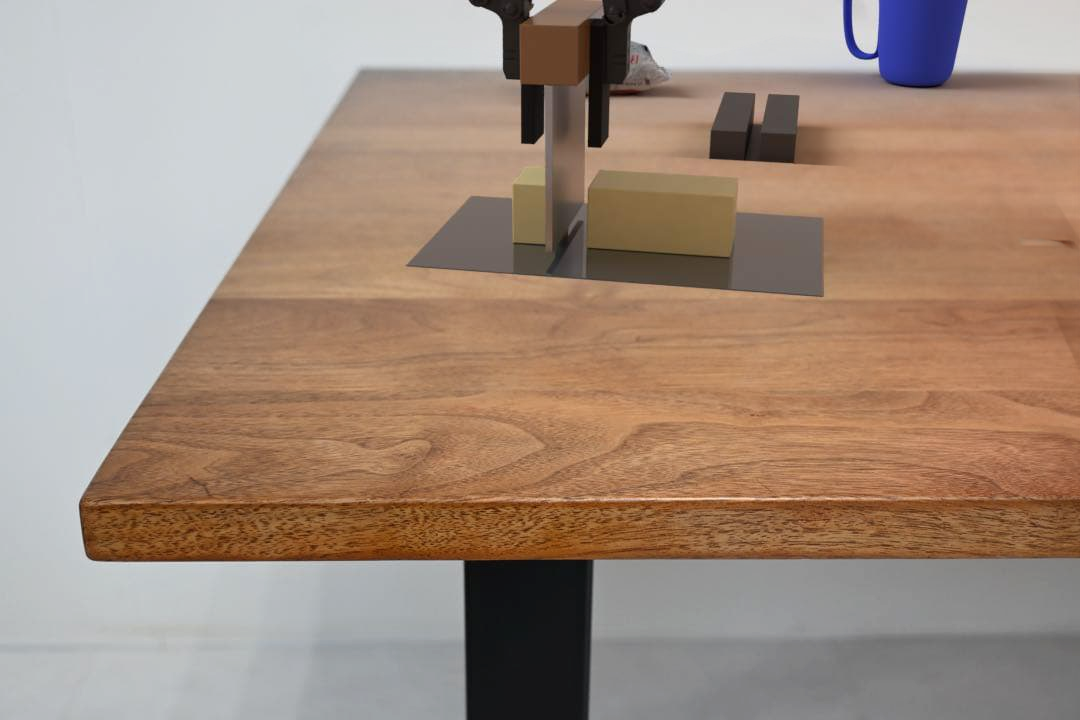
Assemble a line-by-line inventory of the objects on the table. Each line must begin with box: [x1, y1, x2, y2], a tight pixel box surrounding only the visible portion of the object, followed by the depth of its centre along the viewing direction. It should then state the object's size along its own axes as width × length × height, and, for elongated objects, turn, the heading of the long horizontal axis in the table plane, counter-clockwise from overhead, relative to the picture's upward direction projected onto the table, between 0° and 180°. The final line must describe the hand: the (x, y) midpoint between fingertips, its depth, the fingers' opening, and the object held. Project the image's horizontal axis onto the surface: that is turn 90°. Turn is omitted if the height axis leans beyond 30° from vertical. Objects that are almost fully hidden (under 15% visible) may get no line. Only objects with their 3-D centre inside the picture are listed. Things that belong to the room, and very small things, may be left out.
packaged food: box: [585, 40, 673, 96], centre depth 114 cm, size 9×12×5 cm
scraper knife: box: [519, 0, 604, 253], centre depth 70 cm, size 3×10×12 cm, turn 168°
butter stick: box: [586, 169, 740, 258], centre depth 71 cm, size 8×4×4 cm, turn 78°
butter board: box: [405, 195, 824, 298], centre depth 72 cm, size 22×14×1 cm, turn 78°
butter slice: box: [511, 165, 545, 245], centre depth 72 cm, size 2×4×4 cm, turn 168°
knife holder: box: [708, 91, 801, 165], centre depth 96 cm, size 6×14×3 cm, turn 168°
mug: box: [842, 0, 969, 87], centre depth 121 cm, size 8×12×10 cm
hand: (565, 139), depth 70 cm, fingers closed on scraper knife, 3 cm apart
